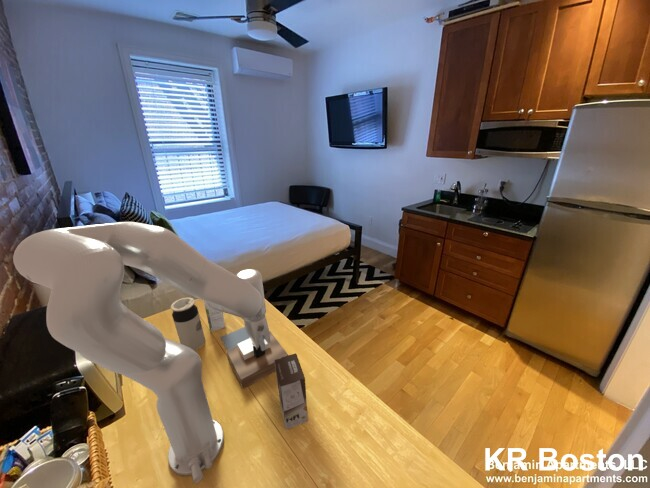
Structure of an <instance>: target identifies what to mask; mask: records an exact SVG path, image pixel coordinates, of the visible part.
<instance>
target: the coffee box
mask: <svg viewBox="0 0 650 488" xmlns="http://www.w3.org/2000/svg"><path fill="white" fill-rule="evenodd" d="M274 362H275V369H276V371H275V375H276V376H275V377H276V382H277V392H278V393H277V394H278V400H279V405H280V410H281V415H282V419H283V424H284V427H285V430H289V429H291V428H294V427H297V426H300V425H302V424H304V423H307V422H308V418H309V417H308V405H307V391H306V386H307V385H306V377H305V374H304V372H303V369H302V366H301V363H300V360H299V357H298V355H297V353H293V354H292V353H291V354H288V356H284V357H282V358H280V359H276V360H274Z"/></svg>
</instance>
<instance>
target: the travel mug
mask: <svg viewBox="0 0 650 488" xmlns="http://www.w3.org/2000/svg"><path fill="white" fill-rule="evenodd" d="M195 302H196V300H195V299H194V297H193V298H192V297H182V298H179V299H177V300H175V301H173V303H172V304H171V305H170V309H171V310H172V313H171V316H172V320H173V323H174V326H175V330H176V333H177V337H178V340H179V343H180V344H182V345H185V346H187V347H189V348H191V349H192V350H194V351H197V350H198V349H201V348H202V347H203V345H204V344H206V337H205V333H204V329H203V325H202V321H201V317H200V313H199V309H198V306H197V305H196V303H195Z"/></svg>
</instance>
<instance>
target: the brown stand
mask: <svg viewBox="0 0 650 488" xmlns="http://www.w3.org/2000/svg"><path fill="white" fill-rule="evenodd" d="M269 333H270V338H271V342H270V348H268V349H266V350H265V355H263V356H260V357H258V358H256V357H255V355H254V356H252V357H250V358H248V359H246V360H244V358H243V356H242V355H241V353H240V351H239V350H238V346H236V347H234V348H232V349H229V350H227V349H226V354H227V358H228V359H227V360H228V362H229V364H230V366H231V368H232V370H233V372H234V374H235V376H236V377H237V379H238V380H237V381H238V382H239V384H240V387H241V388H242V389H243V390H244V389H246V388H247V387H250V386H252V384H255V383H257V382H258V381H260V380H262V379H264V378H266V377H268V376H270V375H271V374H273V373H276V369H275V362H274V360H276V359H280V358H282V357H284V356H288V355H289V354H288V352H287V351H286V350H285V349H284V347H283V346H282V344H281V343H280V342H279V341H278V339H277V338H276V337H275V336H274V334H273V333H272V331H270V330H269Z"/></svg>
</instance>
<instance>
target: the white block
mask: <svg viewBox="0 0 650 488" xmlns="http://www.w3.org/2000/svg"><path fill="white" fill-rule="evenodd" d="M264 342H265V346H266V349H268V348H270V343H267V342H266V340H264ZM237 346H238V350H239V351H240V353H241V355H242V356H243V358H244V360H246V359H248V358H250V357H252V356H254V350H253V344H252V341H251V339H250V338H249V339H247V340H245V341H243V342H240V343H238V344H237Z"/></svg>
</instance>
